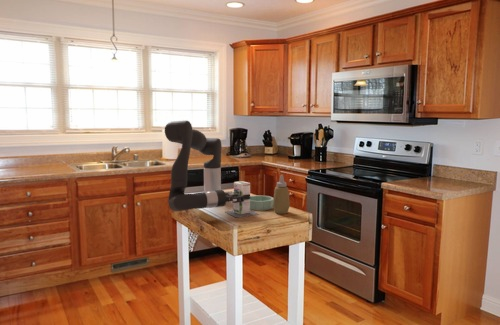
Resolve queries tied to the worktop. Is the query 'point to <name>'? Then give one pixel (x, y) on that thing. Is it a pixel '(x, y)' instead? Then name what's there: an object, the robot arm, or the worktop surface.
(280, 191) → the squeeze bottle
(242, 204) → the syrup box
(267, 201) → the bowl
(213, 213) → the worktop surface
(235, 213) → the mat
